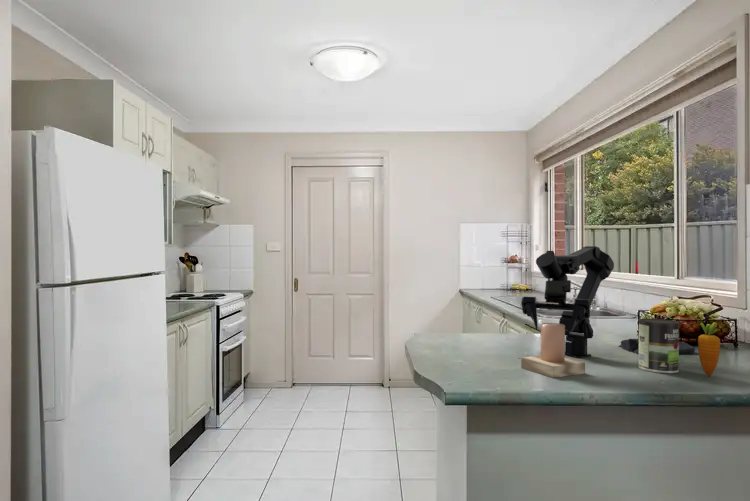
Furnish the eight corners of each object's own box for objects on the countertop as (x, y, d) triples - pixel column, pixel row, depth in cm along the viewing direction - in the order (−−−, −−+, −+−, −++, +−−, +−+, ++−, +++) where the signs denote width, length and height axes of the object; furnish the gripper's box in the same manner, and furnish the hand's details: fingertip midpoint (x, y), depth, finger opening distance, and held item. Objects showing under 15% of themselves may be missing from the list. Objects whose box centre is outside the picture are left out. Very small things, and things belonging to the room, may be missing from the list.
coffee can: (687, 371, 138) (687, 322, 138) (664, 375, 133) (665, 324, 133) (651, 363, 147) (652, 317, 147) (630, 367, 142) (630, 319, 142)
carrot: (693, 374, 134) (693, 320, 134) (710, 374, 135) (710, 320, 135) (707, 378, 129) (707, 323, 129) (724, 378, 130) (725, 323, 130)
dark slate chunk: (702, 357, 159) (703, 342, 159) (634, 355, 160) (634, 341, 160) (676, 347, 174) (676, 334, 174) (614, 346, 176) (614, 333, 176)
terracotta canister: (552, 356, 141) (552, 322, 141) (569, 361, 135) (570, 325, 135) (535, 358, 138) (536, 323, 138) (552, 363, 132) (553, 327, 132)
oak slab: (551, 364, 145) (552, 354, 145) (584, 373, 134) (585, 362, 134) (521, 367, 139) (521, 357, 139) (552, 377, 129) (553, 366, 129)
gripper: (522, 269, 146) (516, 310, 136) (590, 271, 138) (588, 314, 128) (525, 293, 153) (520, 333, 143) (590, 296, 145) (589, 339, 135)
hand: (553, 330), depth 137 cm, fingers open, 9 cm apart
